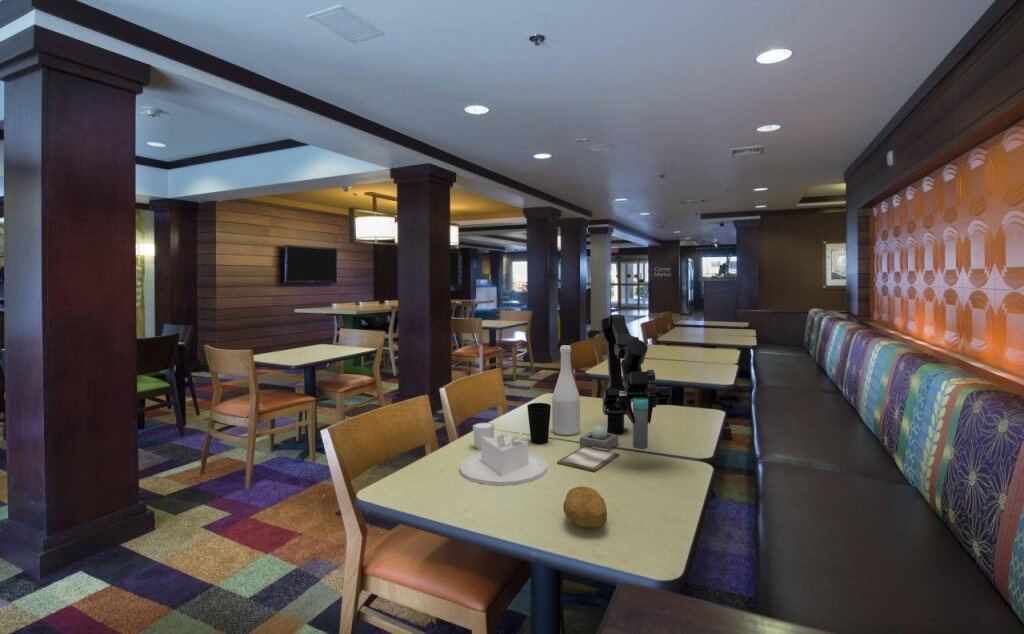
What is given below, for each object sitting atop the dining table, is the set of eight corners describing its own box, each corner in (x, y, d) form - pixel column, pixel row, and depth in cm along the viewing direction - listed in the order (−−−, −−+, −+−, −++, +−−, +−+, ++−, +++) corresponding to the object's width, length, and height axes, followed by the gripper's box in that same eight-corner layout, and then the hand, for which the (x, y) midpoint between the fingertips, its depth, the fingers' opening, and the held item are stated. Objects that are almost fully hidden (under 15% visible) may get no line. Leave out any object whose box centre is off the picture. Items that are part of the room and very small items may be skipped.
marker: (636, 443, 146) (636, 396, 145) (650, 445, 144) (650, 398, 143) (630, 447, 143) (630, 399, 142) (644, 450, 141) (644, 401, 139)
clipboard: (583, 448, 161) (583, 444, 161) (619, 455, 154) (619, 451, 154) (557, 463, 148) (557, 459, 148) (594, 472, 141) (594, 467, 141)
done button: (595, 434, 167) (595, 423, 166) (609, 437, 164) (609, 426, 163) (588, 438, 163) (588, 427, 162) (602, 441, 160) (602, 430, 159)
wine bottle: (581, 435, 174) (581, 347, 171) (553, 436, 174) (552, 348, 171) (578, 427, 183) (577, 343, 181) (551, 427, 183) (550, 344, 181)
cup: (551, 438, 172) (551, 402, 171) (551, 445, 164) (550, 408, 163) (528, 437, 172) (528, 402, 171) (526, 445, 165) (526, 408, 164)
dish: (565, 467, 146) (565, 428, 146) (504, 494, 128) (503, 450, 127) (503, 448, 163) (502, 413, 162) (441, 470, 145) (440, 431, 144)
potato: (563, 536, 107) (563, 504, 106) (563, 508, 120) (562, 479, 119) (608, 537, 106) (608, 505, 106) (603, 509, 119) (603, 480, 118)
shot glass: (478, 451, 159) (477, 429, 159) (469, 445, 165) (469, 424, 165) (498, 448, 162) (498, 426, 162) (489, 442, 168) (488, 421, 168)
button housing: (592, 439, 170) (592, 430, 169) (618, 444, 164) (618, 435, 164) (579, 446, 162) (579, 437, 162) (606, 452, 157) (606, 442, 157)
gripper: (604, 360, 146) (611, 408, 135) (670, 359, 145) (682, 407, 135) (600, 381, 154) (606, 428, 144) (662, 380, 154) (673, 428, 144)
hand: (641, 422), depth 141 cm, fingers closed on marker, 4 cm apart
